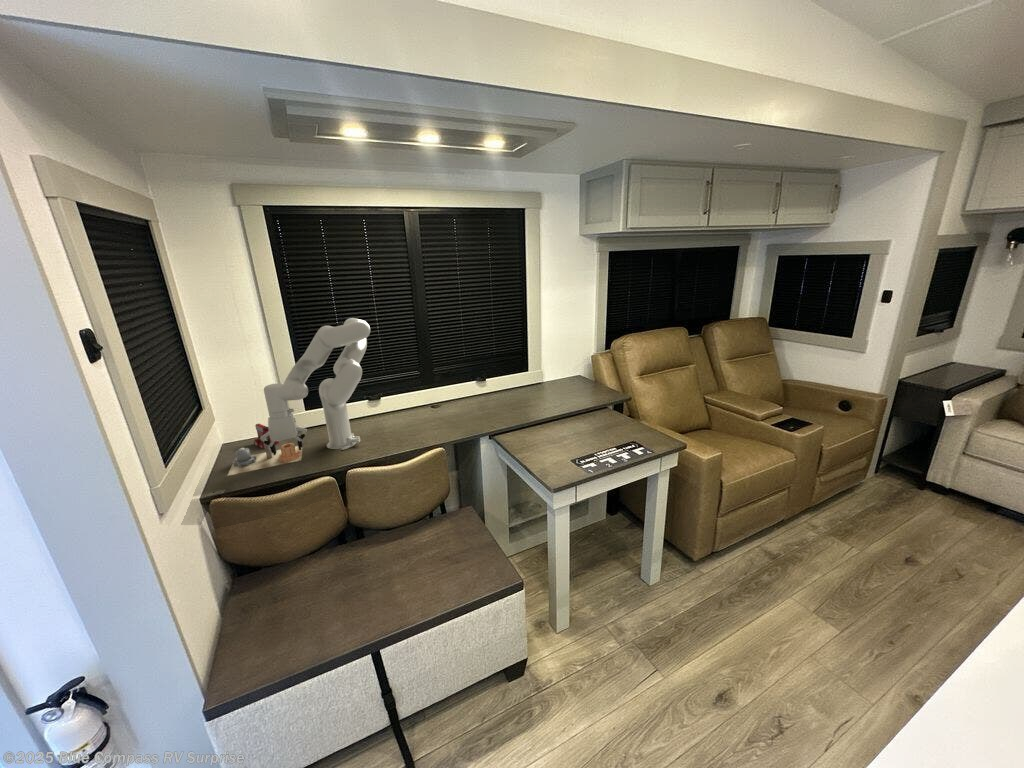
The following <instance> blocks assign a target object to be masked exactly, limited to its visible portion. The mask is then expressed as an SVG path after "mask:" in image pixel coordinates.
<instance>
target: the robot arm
mask: <svg viewBox="0 0 1024 768" xmlns="http://www.w3.org/2000/svg"><path fill="white" fill-rule="evenodd" d="M370 334H371V327H370V325H369V323H368V322H367V321H366V320H363V319H359V318H355V317H348V318H347V319H346V320H345V321H344V322H343V324H340V325H337V326H331V325H323V326H321V327H320V328H318V330H317V332H316V333H315V335H314V336H313V338H312V340H311V342H310V344H309V345H308V347H307V348H306V350H305V352H304V353H303V355H302V356H301V357H300V358H299V359H298V361H296V363H295V364H294V365H293V367H292V368H291V370H290V371H289V373H288V374H287V376H286V378H285V379H284V382H283V383H278V382H277V383H270V384H267V385H265V386H264V387H263V393H264V398H265V402H266V407H267V411H268V416H269V417H268V418H267V425H268V426H267V427H268V428H269V432H267V433H266V434H264V435H263V436H261V437H260V439H261V440H262V441H263V442H264V443H265V444H267V445H268V446H269V447H270V450H271V452H272V453H273V454H274V455H276V450H277V449H276V444H274V442H275V441H279V442H281V441H287V440H291V439H295V440H297V446H298V447H299V450H301V447H303V446H304V445H303V439H304V438H305V437H306V434H307V432H308V429H307V428H304V427H302V426H301V427H300V426H298V423H297V422H296V418H295V416H294V413H295V409H294V408H291V407H290V405H289V401H299V400H303V399H304V398H306V397H307V396H308V394H309V388H308V386H307V385H306V382H307V380H308V378H310V376H311V374H312V373H314V371H315V370H317V369H319V368H321V367H323V365H325V363H326V361H327V360H328V358H329V356H330V355H331V353H332V351H333V350H334V349H337V348H342V347H343V350H342V351H341V354H340V355H339V356H338V358H337V360H336V361H335V363H334V365H333V370H332V371H333V372H334V375H335V377H334V378H333V377H332V378H330V377H329V378H326V379H323V380H322V381H321V382H320V384H319V386H318V393H319V394H318V395H319V398H320V401H321V405H322V409H323V414H324V418H325V424H326V431H327V435H328V440H329V441H328V443H326V447H327V448H328V449H334V450H339V449H340V451H344V450H347V449H350V448H352V447H353V446H355V445H356V443H360V442H361V437H360V435H355V434H354V432H352V430H351V429H352V428H351V423H350V417H349V411H348V408H347V407H348V405H347V402H348V400H349V399H350V397H352V394H353V393H354V391H355V390H356V388H357V387H358V384H359V383H360V381H361V379H362V375H363V368H362V366H361V365H360V363H361V361H362V359H363V357H364V355H365V353H366V351H367V346H368V340H367V338H368V337H370ZM344 346H345V347H344ZM299 432H302V433H301V435H300V434H299ZM269 435H270V440H271V441H269V440H266V437H268V436H269Z"/></svg>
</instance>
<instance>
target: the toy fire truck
mask: <svg viewBox="0 0 1024 768" xmlns="http://www.w3.org/2000/svg"><path fill="white" fill-rule="evenodd" d="M254 426H255V430H256V433H257V438H256V439H254V440H253V444H254V445H255V446H257V447H259V448H261V449H262V450H265V447H264V442H263V441H262V440H261V439H260V437H261V436H263V435H264V434H266V433H267V432H269V428H268V426H266V425H264V424H261V423H256V424H255V425H254ZM266 440H269V441H271V440H270V435H269V436H268V437H266ZM279 443H280V441H275V442H274V444H275V445H279Z"/></svg>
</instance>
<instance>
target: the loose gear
mask: <svg viewBox="0 0 1024 768" xmlns="http://www.w3.org/2000/svg"><path fill="white" fill-rule="evenodd" d="M295 447H296V445H295V443H294V442H289V443H288V442H287V443H285V444H282V445H280V450H281V452H282V454H280V455H279V461H284V462H287V461H291V460H292V461H293V460H295V459H296V458H299V457H300V451H296V450H295Z"/></svg>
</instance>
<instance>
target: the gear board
mask: <svg viewBox="0 0 1024 768" xmlns="http://www.w3.org/2000/svg"><path fill="white" fill-rule="evenodd" d="M264 447H265V449H264V450H265V452H262V453H256V454H251V456H256V459H257V460H256V462H255V463H252V464H250V466H243V467H241V468H238V466H236V467H234V465H233V463H234V461H233V462H232V465H231V466H230V468H229V471H228V474H227V475H226V476H227V477H229V476H234V475H238V474H242V473H247V472H253V471H257V470H260V469H265V468H266V469H267V468H270V467H271V468H272V467H276V466H281V465H285V464H289V463H294V462H299V461H302V458H303V447H301V450H299V447H298V445H295V450H296V451H300V457H299V458H296V459H295V460H293V461H292V460H291V461H287V462H284V461H279V455H280V454H282V452H281V449H276V455H274V454H273V453H272V452H271V448H270V447H269V446H268V445H267V444H265V443H264ZM235 459H237V458H236V457H235V458H234V460H235Z"/></svg>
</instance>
